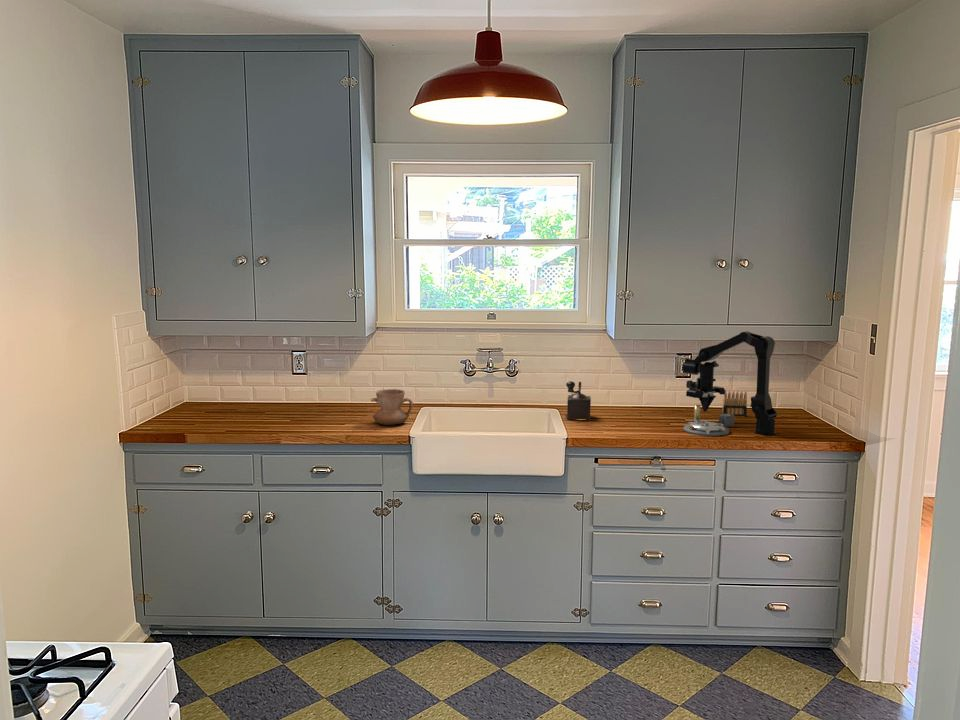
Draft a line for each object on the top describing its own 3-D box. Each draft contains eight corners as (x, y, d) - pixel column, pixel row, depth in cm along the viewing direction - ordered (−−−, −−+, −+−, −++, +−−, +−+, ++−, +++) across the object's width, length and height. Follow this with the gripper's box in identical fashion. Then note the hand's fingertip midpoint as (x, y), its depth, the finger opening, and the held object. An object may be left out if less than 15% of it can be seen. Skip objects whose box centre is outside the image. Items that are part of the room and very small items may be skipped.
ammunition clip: (722, 416, 317) (723, 390, 316) (721, 415, 319) (723, 389, 317) (746, 417, 316) (748, 391, 314) (745, 416, 318) (747, 390, 316)
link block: (733, 426, 299) (734, 414, 298) (724, 427, 295) (725, 416, 295) (727, 424, 301) (728, 413, 300) (718, 426, 298) (719, 414, 297)
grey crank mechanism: (731, 432, 282) (732, 414, 281) (694, 432, 282) (694, 415, 281) (713, 420, 302) (714, 404, 301) (678, 420, 302) (679, 404, 301)
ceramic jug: (369, 427, 292) (368, 394, 290) (372, 420, 307) (372, 388, 305) (412, 427, 293) (412, 394, 291) (413, 419, 308) (413, 388, 306)
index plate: (738, 432, 287) (738, 430, 286) (708, 438, 277) (708, 435, 277) (703, 424, 302) (703, 421, 302) (674, 429, 292) (674, 426, 292)
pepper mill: (565, 414, 319) (566, 376, 316) (590, 415, 317) (591, 376, 315) (564, 422, 303) (565, 382, 301) (590, 423, 302) (591, 382, 299)
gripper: (706, 371, 313) (704, 405, 315) (677, 375, 304) (675, 410, 306) (726, 375, 304) (724, 410, 306) (697, 379, 294) (695, 415, 296)
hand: (704, 411), depth 304 cm, fingers closed
